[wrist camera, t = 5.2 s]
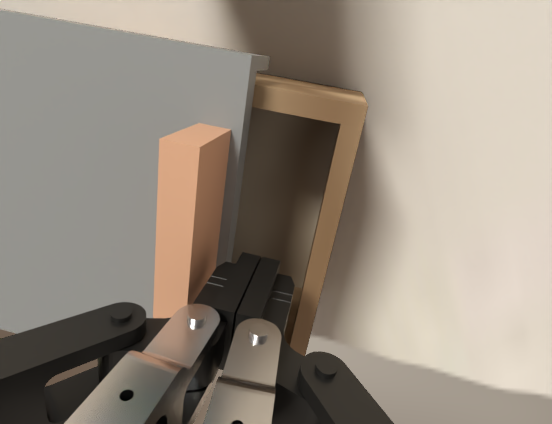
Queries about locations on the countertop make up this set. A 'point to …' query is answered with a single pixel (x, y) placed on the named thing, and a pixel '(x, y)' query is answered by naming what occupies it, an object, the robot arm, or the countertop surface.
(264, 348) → the robot arm
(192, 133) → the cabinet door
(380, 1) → the countertop surface
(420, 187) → the countertop surface
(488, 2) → the countertop surface
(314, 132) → the wooden box
